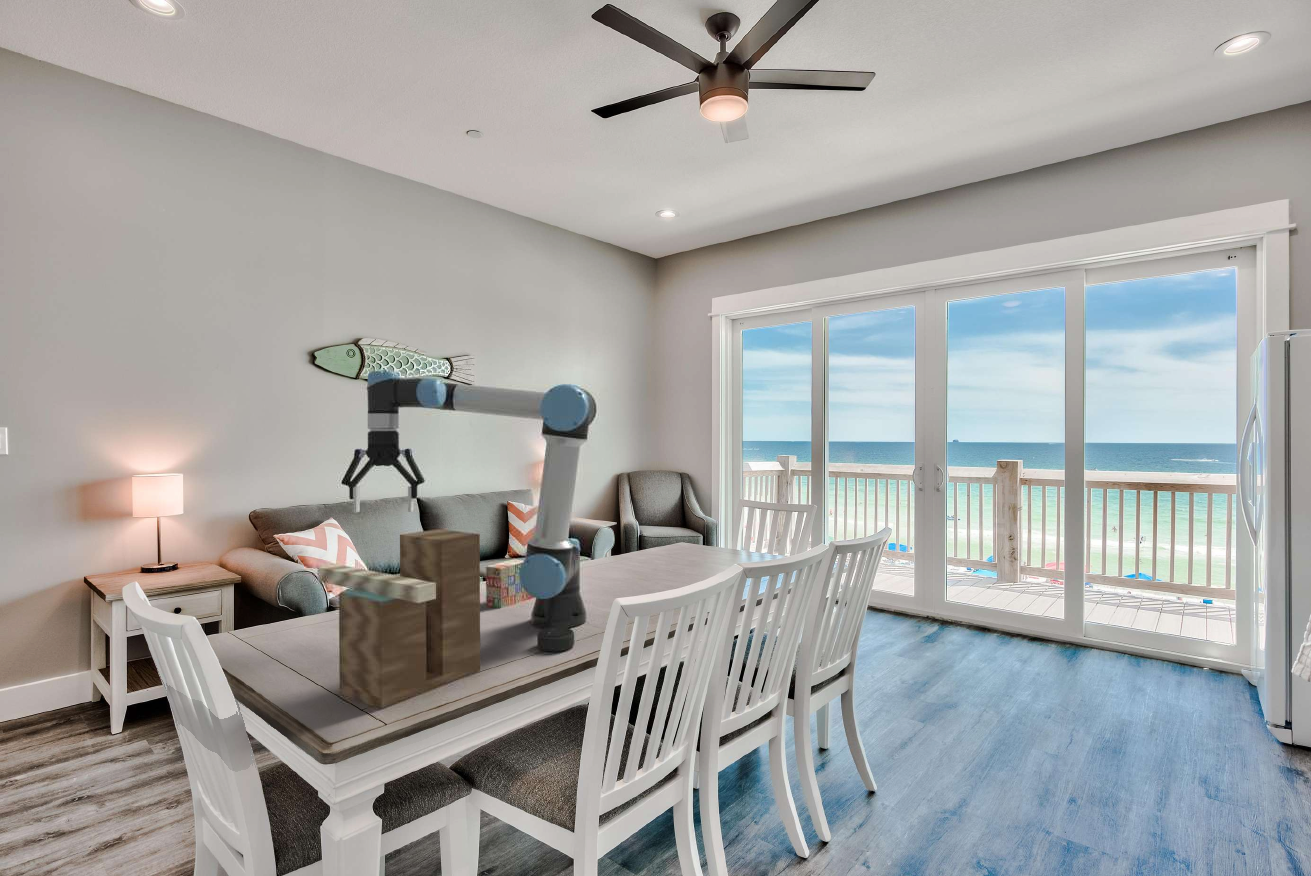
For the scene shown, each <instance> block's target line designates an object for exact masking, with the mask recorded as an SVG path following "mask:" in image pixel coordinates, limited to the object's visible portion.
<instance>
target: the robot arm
mask: <svg viewBox="0 0 1311 876" xmlns="http://www.w3.org/2000/svg"><path fill="white" fill-rule="evenodd" d="M366 391H367V429H368V432H367V447H366V448H367V449H362V448H355V450H354V453H353V458H352V460H351V462H350V464H349V466H348V468H347V470H346V472H345V474H344V476H343V478H342V480H341V485H343V486H347V487H348V488H349V490H348V491H349V492H348V493H349V494H348V495H349V496H348V497H349V499H350V500H352V503H353V504H352V508H353V510H352V511H353V512H352V513H354V514H355V513H359V512H360V511H361V505H360V504H361V500H360V499H361V496H360V495H361V493H360V491H361V487H360V486H358V484H359V483H360V482H361V481H362V480H363V478H365V476H366V475H367V474H368V473H369V471H370V470H371V469H372V468H373V467H374V466H375V467H382V466H384V467H389V466H390V467H391V466H393V467H394V468H395V469H396V470H397V472H399V474H401V476H402V477H403V478H404V480H405V481H407V483H408V484H409V485H410V486H407V512H408V513H410V512H411V513H412V512H413V511H415V510H414V507H415V506H414V505H415V503H414V500H415V499H417V498H418V486H419V485H422V484H424V483H425V481H426V480H425V478H424V477H423V474H422V472H421V471H420V469H419V467H418V465H417V463H416V461H415V459H414V457H413V451H412V449H411V448H405V449H400V433H399V431H397V430H398V429H399V425H400V423H399V421H400V418H399V411H400V409H399V408H419V409H420V408H421V409H422V408H423V409H434V410H441V411H454V412H455V411H456V412H466V413H474V414H485V415H493V416H495V415H496V416H501V417H502V416H503V417H513V418H521V419H522V418H524V419H531V420H532V419H533V420H542V425H541V426H542V427H541V436H542V437H543V439H544V440H545V442H546V443H545V452H544V458H543V467H542V474H541V475H542V476H541V483H540V490H539V499H538V507H537V513H536V522H535V529H534V535H533V536H532V537H530V538H529V539H528V540H527V542H526V552H525V558H524V561H523V563H522V565H521V568H520V571H519V580H520V583H521V586H522V587H523V589H524V590H525V591H526V592H527V593H528V594H529V595H531V596H533V597H534V598H535V601H534V603H533V608H532V611H531V614H530V623H531V624H532V625H533V626H534V627H537V628H542V629H546V628H550V627H566V628H569V629H570V628H574V627H577V626H581V625H583V624H584V623H586V622H587V610H586V608H585V607H586V606H585V604H584V602H583V601H584V600H583V598H582V594H581V588H580V587H581V585H580V584H581V578H580V577H581V563H580V562H581V554H580V553H581V546H580V540H578V539H577V538H572V537H571V538H569V535H570V534H569V533H570V526H571V518H572V512H573V503H574V495H575V489H576V480H577V473H578V465H579V456H580V450H581V446H582V445H583V444H585V443H586V442H587V441H588V435H589V426H590V425H591V424H592V423H593V421H594V420H595V418H596V415H597V404H596V400H595V398H594V397H593V395H592V394H591V393H590V392H589V391H588V390H586V389H584V388H582V387H579V386H578V385H575V384H571V383H569V384H568V383H567V384H565V383H562V384H559V385H555V386H553V387H551V388H550V389H548V390H547V392H544V391H542V392H541V391H533V390H522V389H512V388H502V387H501V388H500V387H492V386H481V385H470V384H459V383H450V382H443V380H441V379H440V378H432V377H425V378H400V377H399V373H398V372H397V371H393V370H372V371H370V372H368V375H367V385H366ZM365 456H367V457H368V459H369V460H368V461H367V462H366V463H365V464H364V466H363V467H362V468H361V469H360V470H359V471H358V472H357V474H356V475H355V476H354V474H355V473H356V470H357V469H358V467H359V464H360V463H361V460H362V458H364V457H365ZM400 456H402V457H403V458H405V460H406V462H407V464H408V466H409V467H410V469H411V472H412V474H413V475H412V474H411V473H410V472H409V471H408V470H407V468H405V467H404V465H403V464H402V463H401V461H400V460H399V459H398V458H399V457H400ZM353 476H354V477H353ZM413 476H414V477H413Z"/></svg>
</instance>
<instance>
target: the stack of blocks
mask: <svg viewBox="0 0 1311 876" xmlns="http://www.w3.org/2000/svg"><path fill="white" fill-rule="evenodd" d="M524 560H525V559H524ZM524 560H523V559H522V560H521V559H510V560H505V561H501V562H497V563H494V564H490V565H486V566H485V591H486V593H485V594H486V596H485V600H486V601H485V602H486V606H487V607H493V608H497V609H498V608H499V609H503V608H506V607H510V606H513V605H516V604H518V603H523V602H526V601H528V600H531V599H534V598H535V597H533V596H531V595H529V594H528V593H527V592H526V591H525V590H524V589H523V587H522V586H521V583H520V580H519V571H520V568H521V565H522V563H523V561H524Z"/></svg>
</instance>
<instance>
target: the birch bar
mask: <svg viewBox="0 0 1311 876" xmlns="http://www.w3.org/2000/svg"><path fill="white" fill-rule="evenodd" d="M317 582H320V583H325V584H329V585H334V586H338V587H342V588H347V589H350V590H353V589H356V590H360V591H365V592H370V593H374V594H379V595H383V596H388V597H392V598H397V599H401V600H406V601H411V602H415V603H421V602H425V601H428V600H432V599H436V583H433V582H428V581H423V580H417V579H412V578H407V577H401V576H400V575H395V574H391V573H385V572H380V571H374V570H369V569H363V568H358V567H354V566H353V567H352V566H347V565H341V564H338V563H337V564H336V563H335V564H329V565H323V566H317Z"/></svg>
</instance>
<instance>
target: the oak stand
mask: <svg viewBox="0 0 1311 876" xmlns="http://www.w3.org/2000/svg"><path fill="white" fill-rule="evenodd" d="M480 535H481V534H480V533H473V532H467V531H466V532H464V531H455V530H447V529H440V528H438V529H437V528H436V529H429V530H424V531H418V532H417V531H416V532H409V533H403V534H399V564H400V565H399V576H401V577H407V578H412V579H417V580H423V581H428V582H433V583H436V599H432V600H428V601H425V602H421V603H415V602H411V601H406V600H401V599H397V598H392V597H388V596H383V595H379V594H374V593H370V592H365V591H360V590H356V589H348V590H345V591H342V592H341V593H339V594H338V619H339V620H338V636H339V639H338V641H339V644H338V647H339V649H338V650H339V651H338V653H339V656H338V657H339V659H338V661H339V666H338V667H339V669H338V670H339V694H341V695H343V696H344V697H347V698H350V699H353V700H355V701H358V702H361V703H364V704H365V705H369V706H371V707H375V708H376V709H379V710H385V709H386V708H389V707H392V706H394V705H396V704H400V703H402V702H405V701H406V700H409V699H412V698H415V697H418V696H420V695H422V694H424V693H428V692H430V691H432V690H435V689H438V688H440V687H442V686H445V685H448V684H450V683H453V682H456V681H457V680H460V679H463V678H466V677H468V676H471V675H474V674H476V673H478V672H481V591H480V589H481V584H480V583H481V580H480V579H481V576H480V575H481V569H480V566H481V563H480V562H481V561H480V560H481V557H480V555H481V552H480V551H481V550H480V547H481V546H480V541H481V539H480Z"/></svg>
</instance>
